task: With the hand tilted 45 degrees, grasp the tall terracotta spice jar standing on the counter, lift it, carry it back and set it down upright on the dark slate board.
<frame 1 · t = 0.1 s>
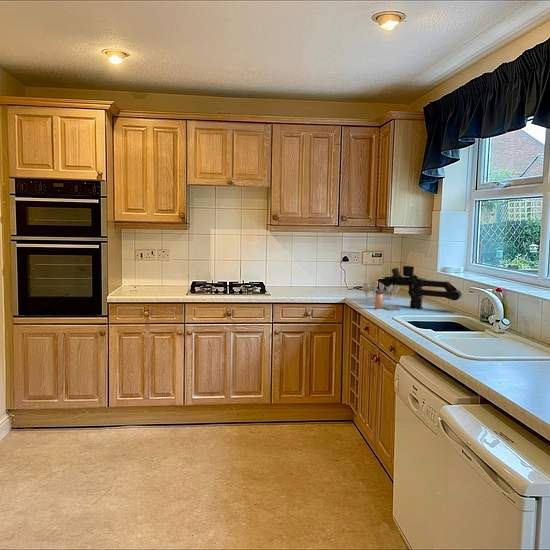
hand: (380, 279, 350), 17 cm above the worktop, tool horizontal, fingers open, 9 cm apart
goblet set: (380, 301, 366), on the worktop
slate board: (390, 308, 334), on the worktop
spice jar: (378, 309, 332), on the worktop
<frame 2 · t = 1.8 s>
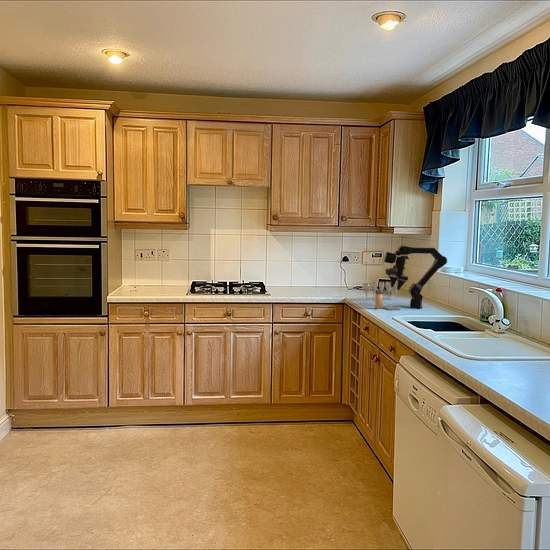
hand: (394, 288, 337), 12 cm above the worktop, tool pointing down, fingers open, 9 cm apart
nothing on the worktop moved.
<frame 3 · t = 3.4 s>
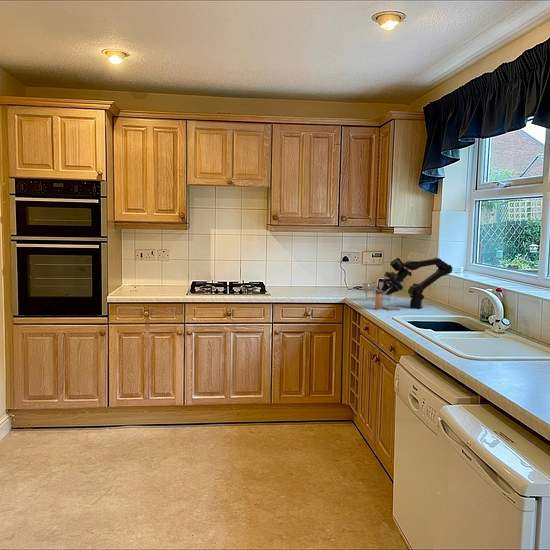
hand: (383, 293, 331), 10 cm above the worktop, tool tilted 45°, fingers open, 9 cm apart
nothing on the worktop moved.
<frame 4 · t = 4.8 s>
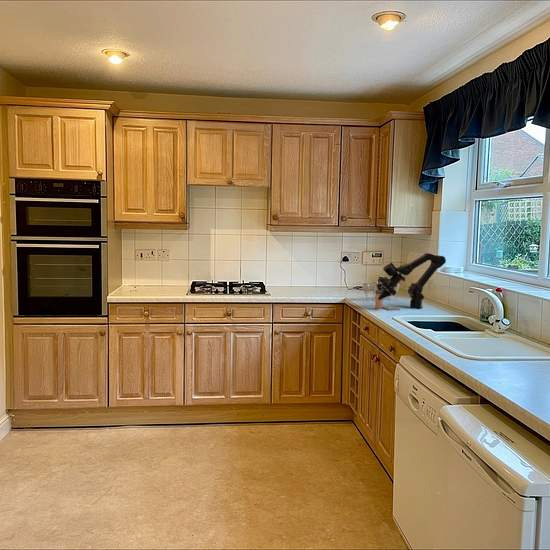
hand: (376, 298, 331), 7 cm above the worktop, tool tilted 45°, fingers closed on spice jar, 5 cm apart
spice jar: (378, 309, 332), on the worktop, touching gripper
everything else where it was.
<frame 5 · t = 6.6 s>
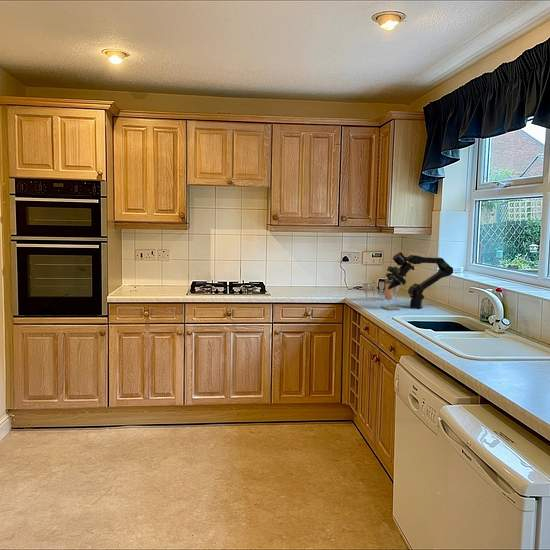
hand: (386, 288, 332), 13 cm above the worktop, tool tilted 45°, fingers closed on spice jar, 5 cm apart
spice jar: (388, 298, 333), point 7 cm above the worktop, touching gripper
everything else where it was.
when the fingers open (8 cm above the worktop, at t = 8.4 s): spice jar stays where it is, resting on slate board.
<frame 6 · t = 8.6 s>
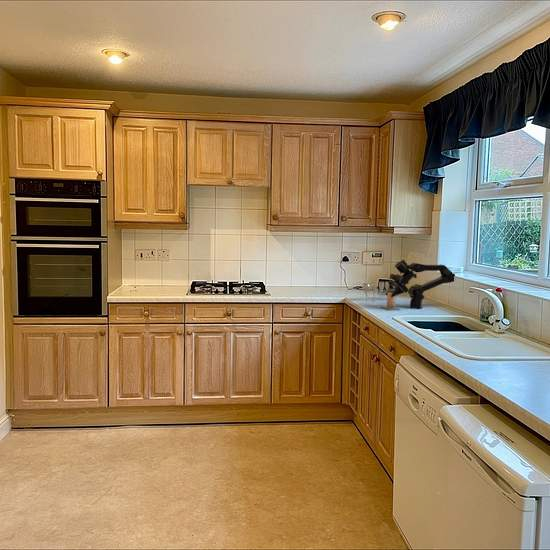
hand: (388, 295, 332), 8 cm above the worktop, tool tilted 45°, fingers open, 7 cm apart
spice jar: (390, 307, 334), point 1 cm above the worktop, touching slate board
everything else where it was.
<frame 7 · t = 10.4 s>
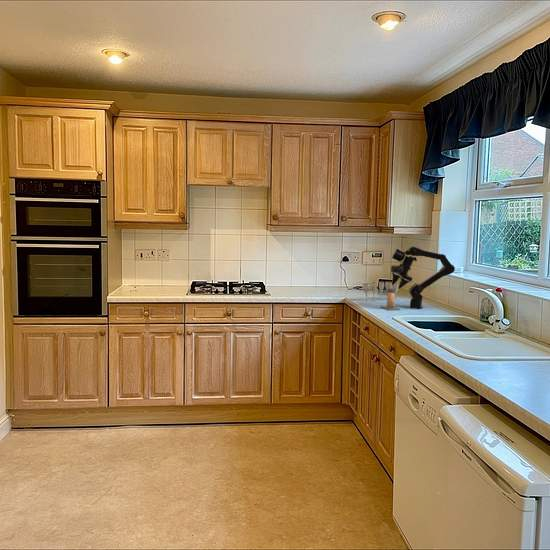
hand: (395, 286, 338), 14 cm above the worktop, tool tilted 25°, fingers open, 9 cm apart
nothing on the worktop moved.
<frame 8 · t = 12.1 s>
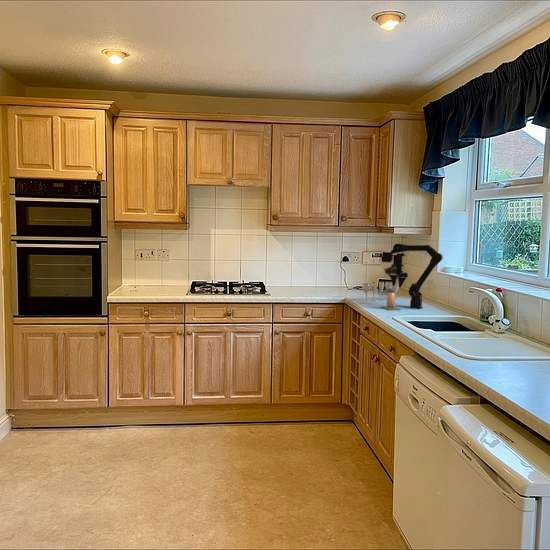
hand: (396, 286, 342), 13 cm above the worktop, tool pointing down, fingers open, 9 cm apart
nothing on the worktop moved.
at the end: spice jar 0.1 cm from the slate board (horizontally); spice jar tilted 0°; the gripper is holding nothing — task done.
